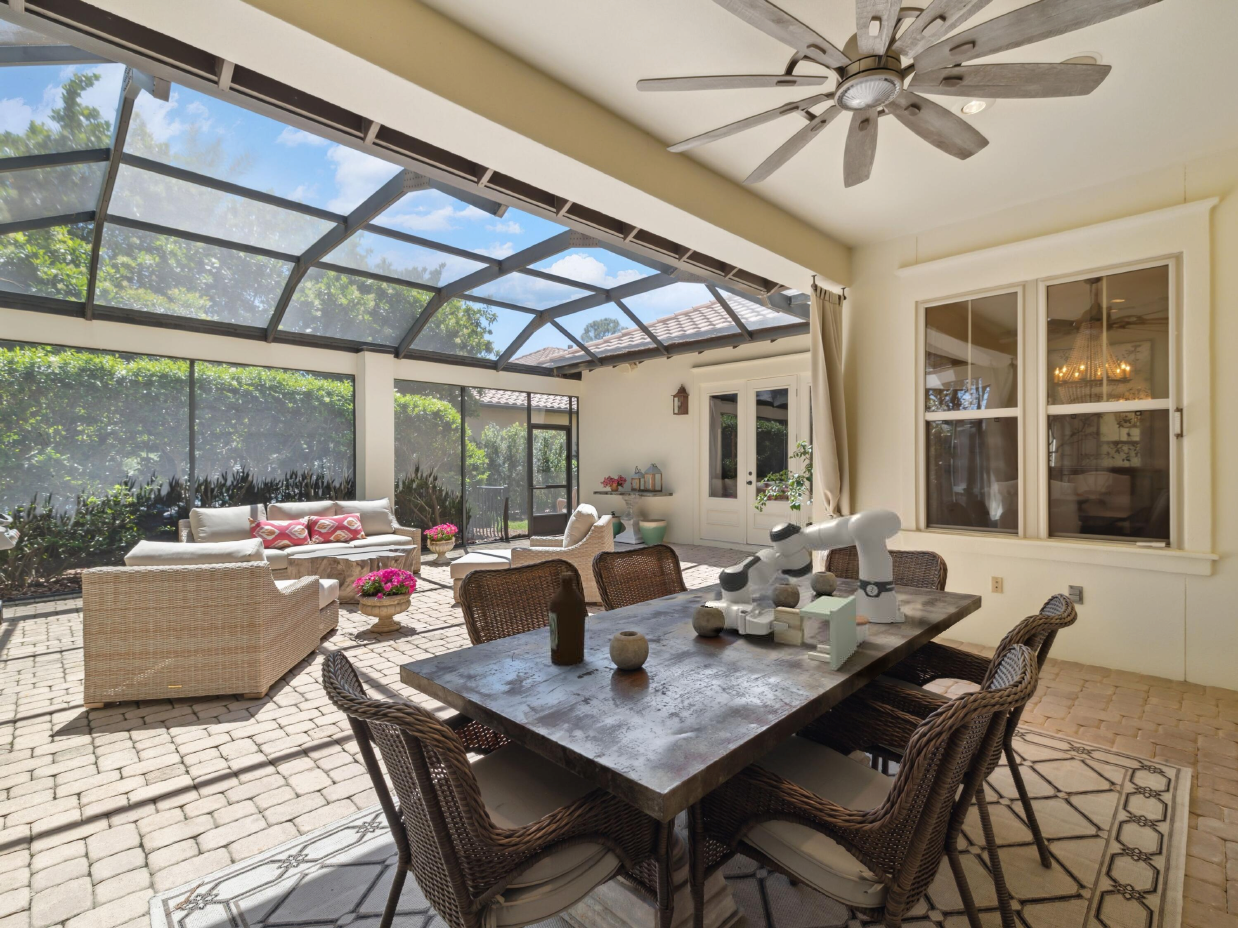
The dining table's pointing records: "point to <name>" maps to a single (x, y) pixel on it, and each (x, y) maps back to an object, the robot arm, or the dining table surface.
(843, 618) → the hutch
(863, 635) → the lidded jar
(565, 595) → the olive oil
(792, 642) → the birch box
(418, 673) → the dining table surface
